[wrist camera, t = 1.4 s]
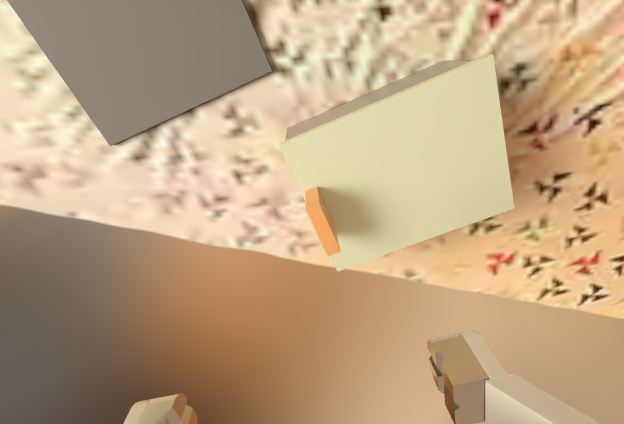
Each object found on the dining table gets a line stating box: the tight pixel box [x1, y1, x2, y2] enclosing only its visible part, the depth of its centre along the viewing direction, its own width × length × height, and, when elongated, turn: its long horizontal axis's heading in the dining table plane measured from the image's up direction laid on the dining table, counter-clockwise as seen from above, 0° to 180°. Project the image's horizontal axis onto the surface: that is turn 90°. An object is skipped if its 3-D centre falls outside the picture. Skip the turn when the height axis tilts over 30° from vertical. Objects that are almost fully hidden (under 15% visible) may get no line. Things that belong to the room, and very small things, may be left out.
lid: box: [279, 55, 514, 271], centre depth 28 cm, size 19×15×6 cm
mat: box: [7, 0, 272, 146], centre depth 30 cm, size 20×16×1 cm
